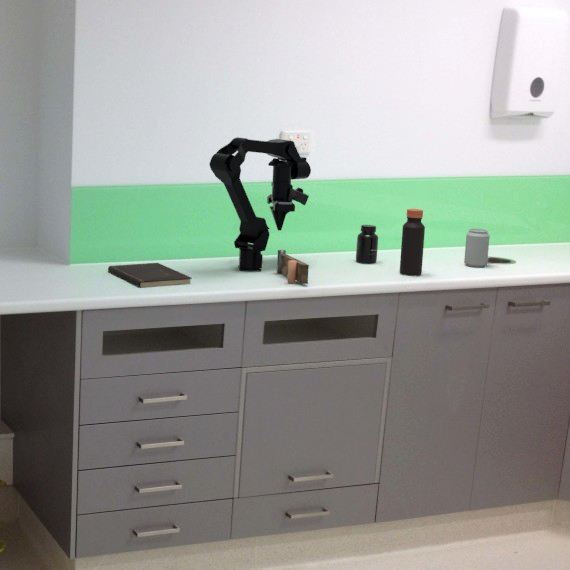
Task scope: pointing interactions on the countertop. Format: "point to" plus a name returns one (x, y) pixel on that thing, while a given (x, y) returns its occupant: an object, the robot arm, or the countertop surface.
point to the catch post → (292, 271)
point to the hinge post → (280, 260)
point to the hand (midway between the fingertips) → (279, 230)
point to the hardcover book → (149, 275)
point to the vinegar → (412, 244)
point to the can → (476, 248)
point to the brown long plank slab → (300, 268)
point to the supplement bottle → (367, 245)
